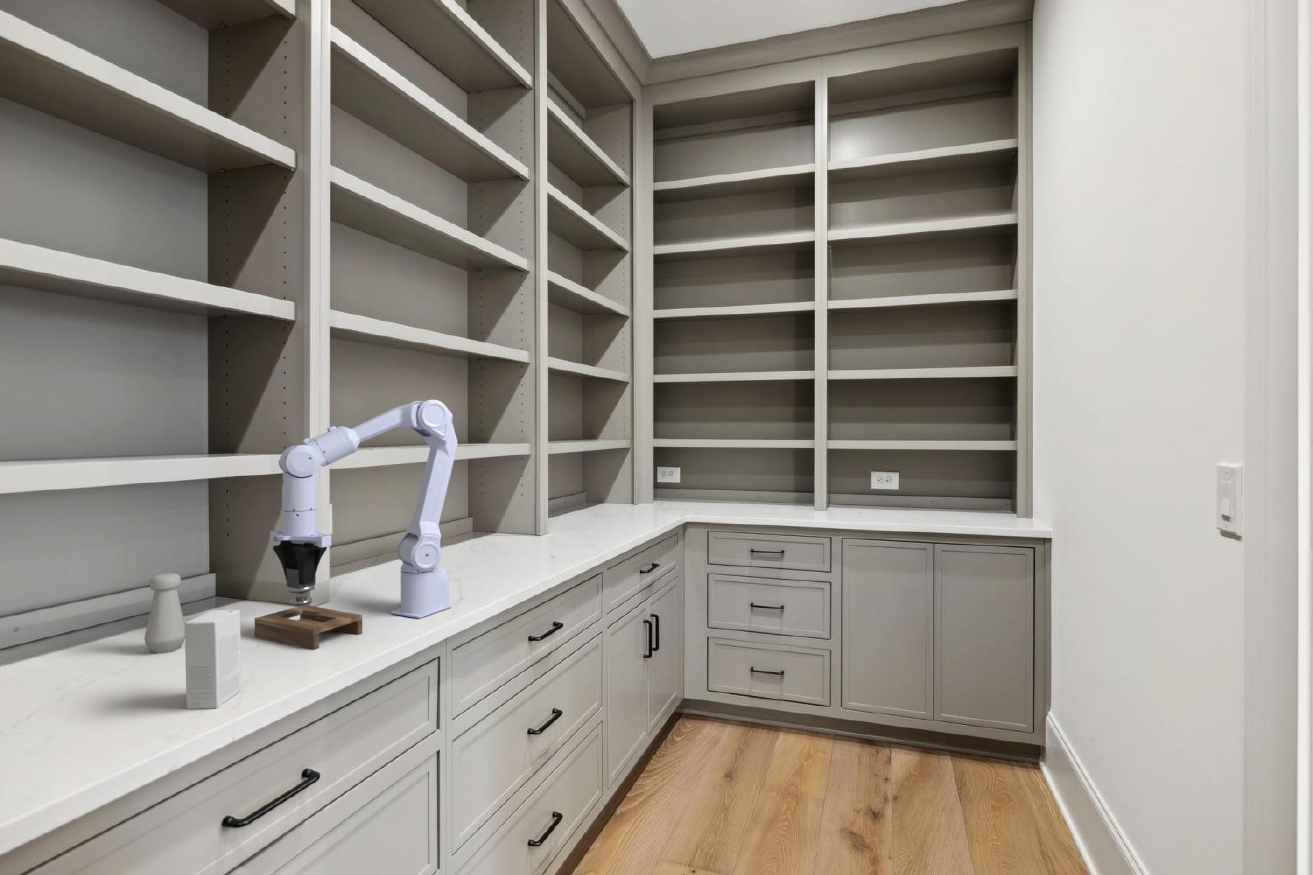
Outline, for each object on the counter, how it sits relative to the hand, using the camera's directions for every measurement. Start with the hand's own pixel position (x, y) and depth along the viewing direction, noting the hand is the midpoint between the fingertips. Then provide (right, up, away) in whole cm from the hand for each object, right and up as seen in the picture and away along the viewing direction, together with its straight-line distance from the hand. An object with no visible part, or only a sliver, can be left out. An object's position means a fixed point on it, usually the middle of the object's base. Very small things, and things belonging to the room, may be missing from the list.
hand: (300, 582), depth 121 cm
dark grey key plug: (0, -4, 0) cm, 4 cm away
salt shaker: (-18, -10, -9) cm, 23 cm away
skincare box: (+4, -10, -30) cm, 32 cm away
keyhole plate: (+3, -10, -2) cm, 10 cm away
